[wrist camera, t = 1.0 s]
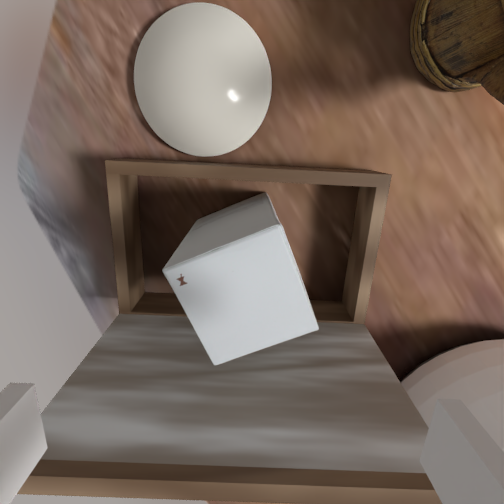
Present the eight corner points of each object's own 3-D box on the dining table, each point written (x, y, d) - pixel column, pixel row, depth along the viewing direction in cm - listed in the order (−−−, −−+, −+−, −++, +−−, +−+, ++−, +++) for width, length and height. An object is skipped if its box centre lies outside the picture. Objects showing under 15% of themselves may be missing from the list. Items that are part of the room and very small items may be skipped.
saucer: (132, 2, 24) (128, -2, 24) (276, 11, 25) (276, 6, 24) (141, 153, 28) (138, 153, 27) (266, 159, 28) (267, 159, 27)
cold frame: (124, 158, 28) (-96, 182, 10) (373, 170, 28) (575, 215, 11) (135, 302, 33) (-5, 493, 15) (349, 312, 33) (464, 509, 15)
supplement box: (225, 285, 32) (210, 370, 20) (194, 218, 30) (156, 268, 18) (295, 260, 31) (322, 333, 19) (268, 189, 29) (280, 221, 17)
